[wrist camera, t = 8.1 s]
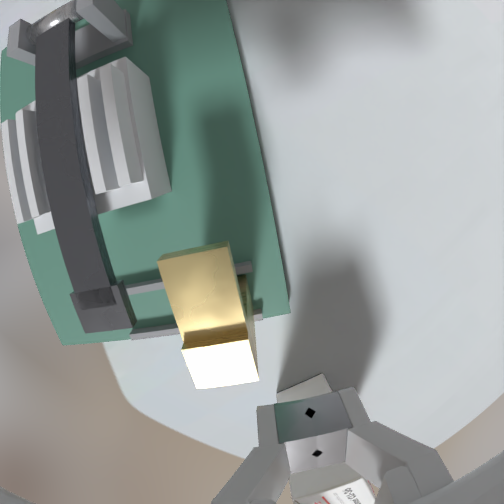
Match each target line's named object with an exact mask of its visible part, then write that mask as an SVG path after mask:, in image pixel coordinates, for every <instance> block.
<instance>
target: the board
mask: <svg viewBox="0 0 504 504" xmlns="http://www.w3.org/2000/svg"><path fill="white" fill-rule="evenodd" d="M76 12H77V13H78V14H79V15H80V16H82V17H83V18H84V19H82V20H80V21H78V22H76V23H75V58H76V79H77V92H78V103H79V113H80V121H81V129H82V136H83V143H84V149H85V155H86V161H87V167H88V172H89V177H90V182H91V187H92V192H93V196H94V201H95V205H96V210H97V214H98V218H99V222H100V226H101V230H102V233H103V237H104V241H105V244H106V248H107V251H108V255H109V258H110V261H111V265H112V268H113V271H114V274H115V277H116V280H117V281H118V280H123V281H124V284H125V287H126V290H127V293H128V296H129V299H130V302H131V305H132V307H133V310H134V313H135V316H136V318H137V322H136V324H135V325H134V327H133V328H128V329H121V330H113V331H104V332H95V333H86V334H85V332H84V330H83V327H82V325H81V323H80V320H79V318H78V315H77V313H76V310H75V308H74V305H73V302H72V300H71V297H70V293H72V292H73V291H74V290H73V287H72V284H71V281H70V278H69V275H68V272H67V269H66V266H65V263H64V259H63V256H62V253H61V249H60V246H59V242H58V239H57V235H56V231H55V227H54V223H53V219H52V215H51V210H50V206H49V201H48V196H47V191H46V186H45V181H44V175H43V169H42V162H41V155H40V148H39V139H38V129H37V117H36V100H35V54H36V45H32V44H31V43H30V42H29V41H28V39H27V35H26V31H27V28H28V27H29V26H30V25H32V24H30V23H28V22H26V21H24V20H22V19H20V20H18V21H17V22H15V23H14V24H13V25H11V26H10V27H9V34H8V44H7V47H6V48H5V49H4V50H2V54H1V71H0V112H1V129H2V140H3V149H4V158H5V165H6V171H7V177H8V183H9V189H10V194H11V199H12V204H13V208H14V213H15V217H16V221H17V225H18V228H19V232H20V236H21V239H22V243H23V246H24V249H25V253H26V256H27V259H28V262H29V265H30V268H31V271H32V274H33V277H34V280H35V282H36V285H37V288H38V290H39V293H40V296H41V298H42V301H43V303H44V305H45V308H46V310H47V313H48V315H49V317H50V319H51V321H52V324H53V326H54V328H55V330H56V333H57V334H58V337H59V339H60V341H61V343H62V345H75V344H87V343H98V342H109V341H118V340H128V339H131V340H137V339H146V338H154V337H161V336H169V335H176V334H180V331H179V328H178V325H177V323H176V320H175V317H174V314H173V311H172V308H171V305H170V302H169V299H168V296H167V293H166V290H165V287H164V284H163V280H162V277H161V274H160V271H159V267H158V264H157V260H158V259H159V258H160V257H161V256H162V254H166V253H171V252H176V251H180V250H185V249H190V248H194V247H199V246H204V245H209V244H213V243H218V242H223V241H229V245H230V249H231V254H232V258H233V262H234V267H235V271H236V275H237V276H241V275H246V277H247V281H248V286H249V290H250V295H251V299H252V303H253V312H254V321H260V320H263V318H268V317H273V316H278V315H283V314H288V313H291V312H290V306H289V300H288V294H287V288H286V283H285V277H284V271H283V265H282V260H281V254H280V249H279V243H278V238H277V233H276V227H275V222H274V217H273V211H272V206H271V201H270V196H269V191H268V186H267V181H266V176H265V171H264V166H263V161H262V156H261V151H260V146H259V141H258V137H257V132H256V127H255V122H254V118H253V113H252V109H251V104H250V99H249V95H248V90H247V86H246V81H245V77H244V73H243V68H242V64H241V60H240V55H239V51H238V47H237V43H236V39H235V34H234V30H233V26H232V22H231V18H230V14H229V10H228V6H227V2H226V0H77V2H76Z"/></svg>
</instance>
